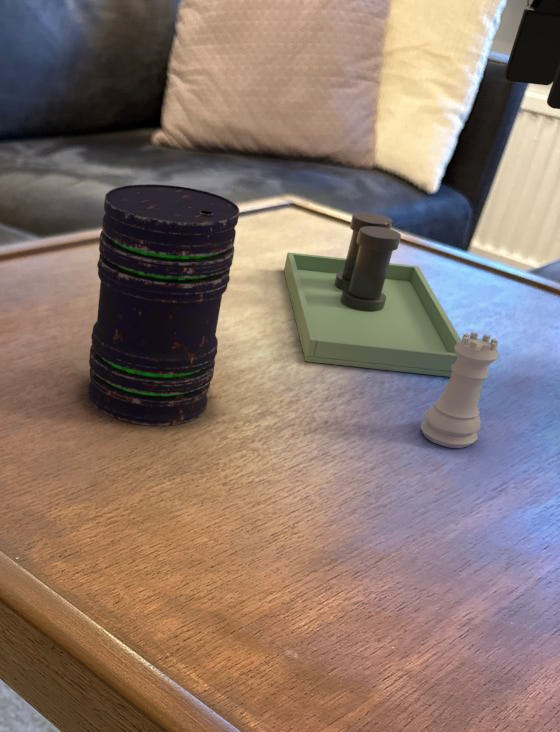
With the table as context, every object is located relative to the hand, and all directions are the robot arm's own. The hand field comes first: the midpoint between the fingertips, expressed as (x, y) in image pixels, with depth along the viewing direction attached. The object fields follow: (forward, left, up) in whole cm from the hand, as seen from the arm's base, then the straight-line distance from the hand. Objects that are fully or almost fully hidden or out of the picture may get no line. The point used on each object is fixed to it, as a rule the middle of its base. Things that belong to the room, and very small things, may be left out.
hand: (548, 95), depth 62 cm
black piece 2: (+2, -29, -24) cm, 38 cm away
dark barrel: (+23, -2, -24) cm, 33 cm away
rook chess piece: (-1, -1, -24) cm, 24 cm away
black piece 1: (+2, -34, -24) cm, 42 cm away
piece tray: (+2, -26, -24) cm, 36 cm away
